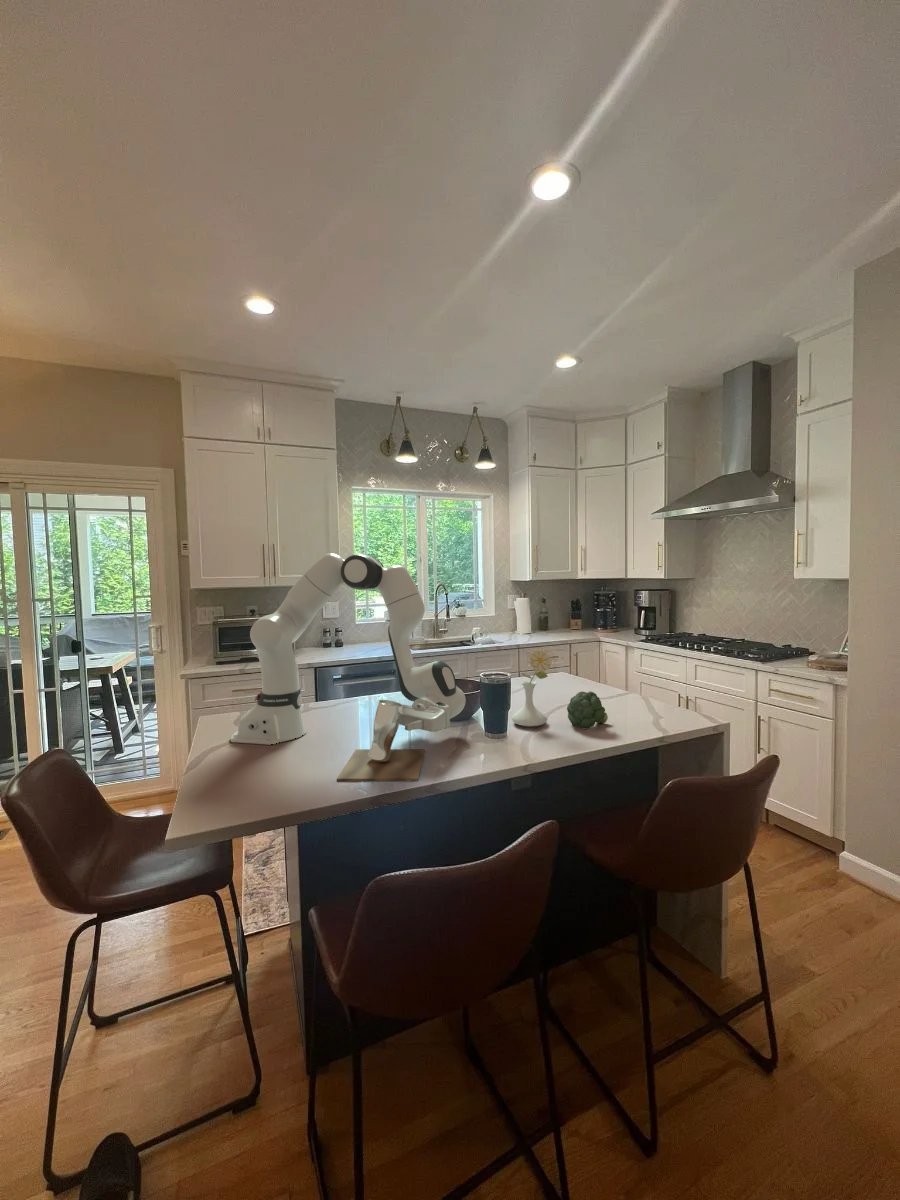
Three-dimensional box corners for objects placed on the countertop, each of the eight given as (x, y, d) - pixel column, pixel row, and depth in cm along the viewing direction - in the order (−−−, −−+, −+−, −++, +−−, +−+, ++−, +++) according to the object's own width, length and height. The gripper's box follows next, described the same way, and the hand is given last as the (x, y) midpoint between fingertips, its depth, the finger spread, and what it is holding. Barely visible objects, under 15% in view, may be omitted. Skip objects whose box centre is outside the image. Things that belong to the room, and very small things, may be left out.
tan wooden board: (336, 781, 122) (336, 778, 122) (355, 751, 142) (355, 749, 141) (417, 780, 121) (417, 778, 121) (425, 751, 141) (425, 749, 141)
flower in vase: (513, 729, 158) (512, 652, 156) (510, 719, 169) (509, 646, 168) (554, 729, 157) (554, 651, 156) (549, 718, 169) (548, 645, 167)
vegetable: (625, 722, 156) (595, 708, 148) (595, 745, 161) (565, 732, 154) (609, 693, 165) (580, 678, 158) (582, 715, 170) (552, 702, 163)
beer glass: (363, 758, 129) (375, 702, 130) (369, 751, 136) (380, 698, 137) (388, 764, 129) (401, 707, 129) (393, 757, 136) (405, 703, 136)
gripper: (399, 696, 151) (366, 707, 140) (453, 706, 139) (421, 718, 127) (400, 717, 151) (367, 729, 140) (454, 728, 139) (422, 743, 128)
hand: (393, 724), depth 134 cm, fingers open, 8 cm apart
